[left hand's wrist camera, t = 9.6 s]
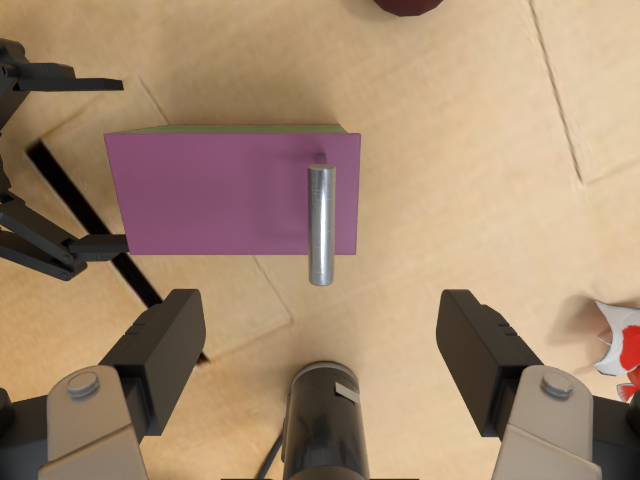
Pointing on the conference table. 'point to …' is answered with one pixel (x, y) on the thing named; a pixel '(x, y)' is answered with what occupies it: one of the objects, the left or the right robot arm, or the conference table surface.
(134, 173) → the lid
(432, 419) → the conference table surface
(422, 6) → the potato
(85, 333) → the conference table surface
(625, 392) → the fish
